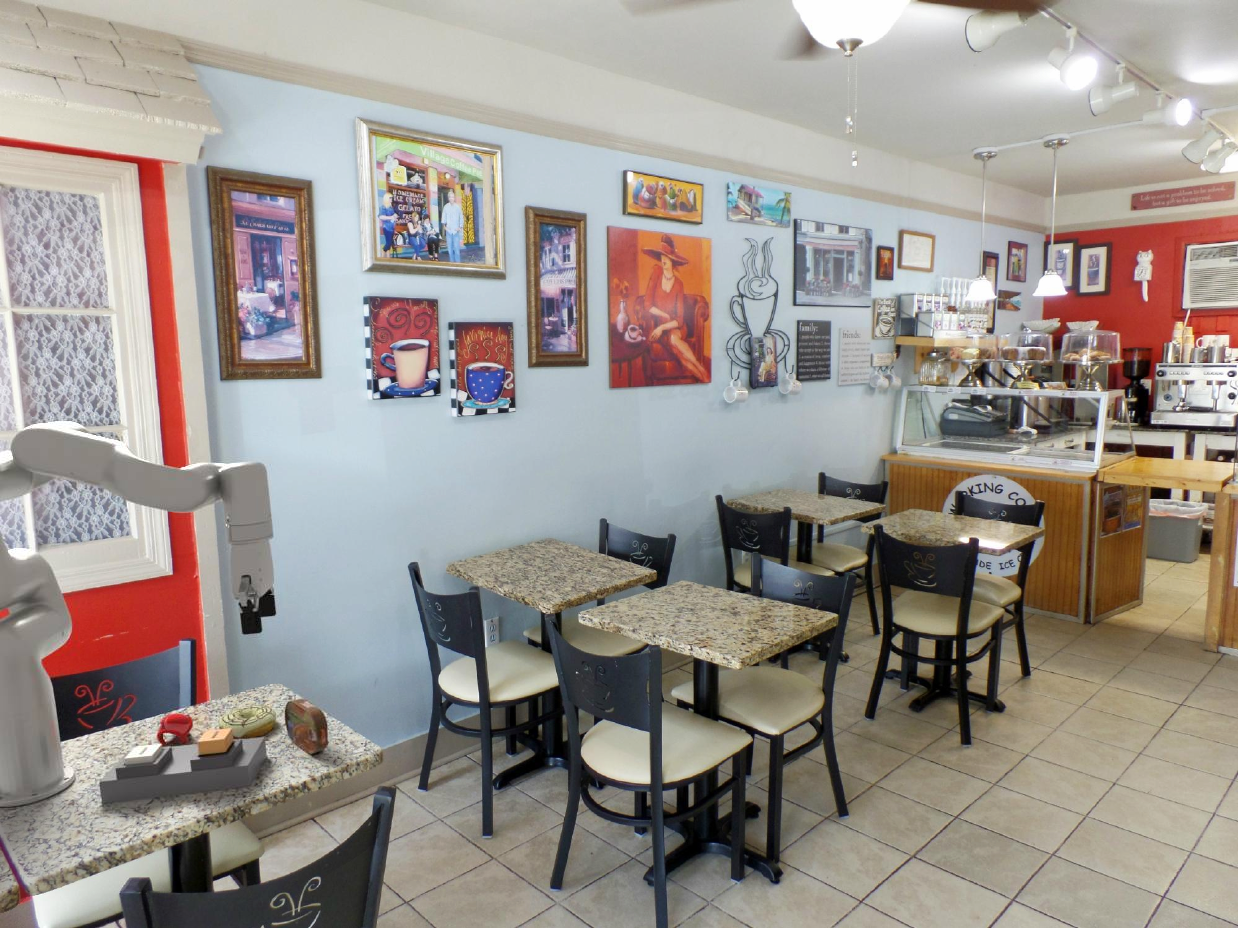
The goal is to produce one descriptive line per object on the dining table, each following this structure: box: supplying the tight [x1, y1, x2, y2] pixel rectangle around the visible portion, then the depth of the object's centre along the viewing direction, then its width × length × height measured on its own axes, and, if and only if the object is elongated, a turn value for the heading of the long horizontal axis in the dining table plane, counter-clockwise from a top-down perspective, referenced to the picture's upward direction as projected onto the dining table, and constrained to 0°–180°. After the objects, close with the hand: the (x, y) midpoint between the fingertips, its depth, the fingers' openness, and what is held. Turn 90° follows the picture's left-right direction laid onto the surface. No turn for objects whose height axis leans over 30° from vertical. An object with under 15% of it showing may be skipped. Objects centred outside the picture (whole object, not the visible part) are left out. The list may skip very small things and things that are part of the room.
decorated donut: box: [218, 704, 277, 740], centre depth 164 cm, size 10×11×4 cm
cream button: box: [124, 743, 163, 765], centre depth 141 cm, size 4×4×2 cm
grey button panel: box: [98, 736, 268, 805], centre depth 144 cm, size 24×11×6 cm, turn 99°
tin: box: [284, 698, 329, 755], centre depth 156 cm, size 15×3×8 cm, turn 44°
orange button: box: [197, 728, 234, 755], centre depth 143 cm, size 4×4×2 cm
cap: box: [156, 712, 194, 747], centre depth 160 cm, size 8×6×6 cm
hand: (259, 624), depth 145 cm, fingers open, 9 cm apart
